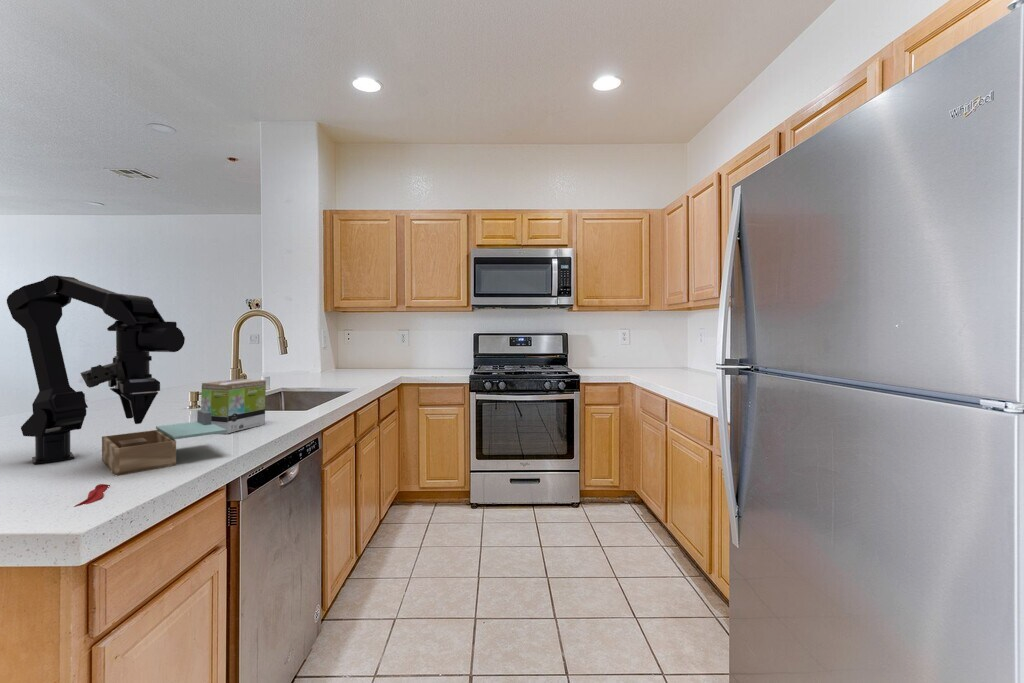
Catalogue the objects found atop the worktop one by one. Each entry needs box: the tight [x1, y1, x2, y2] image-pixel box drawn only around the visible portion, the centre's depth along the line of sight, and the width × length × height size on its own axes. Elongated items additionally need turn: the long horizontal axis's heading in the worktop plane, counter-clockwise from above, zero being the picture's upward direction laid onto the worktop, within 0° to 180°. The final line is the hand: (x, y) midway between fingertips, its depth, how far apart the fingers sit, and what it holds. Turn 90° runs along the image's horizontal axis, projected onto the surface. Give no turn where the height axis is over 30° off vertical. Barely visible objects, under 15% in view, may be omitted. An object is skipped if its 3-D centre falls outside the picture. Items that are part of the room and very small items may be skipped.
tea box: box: [200, 378, 267, 435], centre depth 140 cm, size 15×10×15 cm
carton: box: [101, 429, 177, 476], centre depth 103 cm, size 16×10×6 cm, turn 49°
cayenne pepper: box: [73, 483, 111, 508], centre depth 83 cm, size 12×5×2 cm, turn 8°
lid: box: [155, 409, 227, 440], centre depth 110 cm, size 16×10×4 cm, turn 49°
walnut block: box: [118, 438, 148, 448], centre depth 102 cm, size 4×4×4 cm
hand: (133, 421), depth 102 cm, fingers open, 9 cm apart
